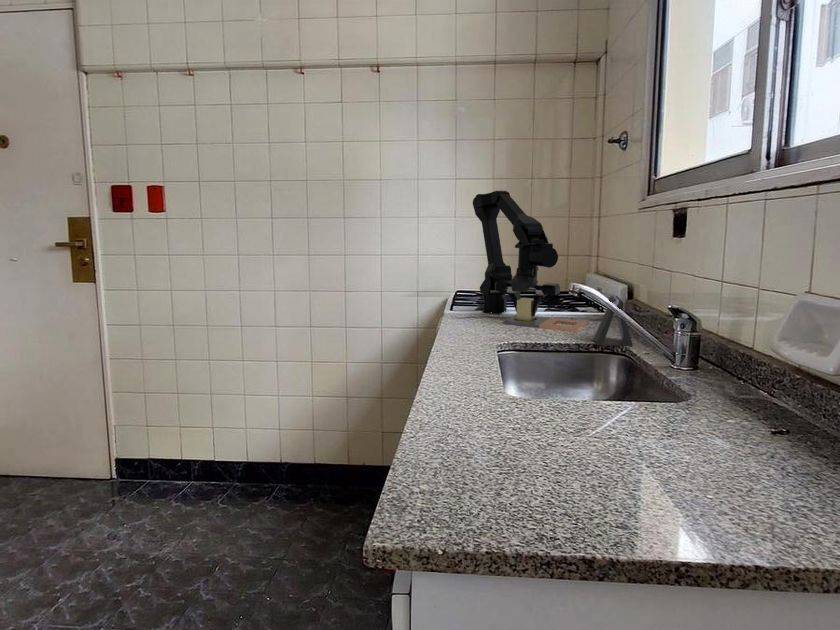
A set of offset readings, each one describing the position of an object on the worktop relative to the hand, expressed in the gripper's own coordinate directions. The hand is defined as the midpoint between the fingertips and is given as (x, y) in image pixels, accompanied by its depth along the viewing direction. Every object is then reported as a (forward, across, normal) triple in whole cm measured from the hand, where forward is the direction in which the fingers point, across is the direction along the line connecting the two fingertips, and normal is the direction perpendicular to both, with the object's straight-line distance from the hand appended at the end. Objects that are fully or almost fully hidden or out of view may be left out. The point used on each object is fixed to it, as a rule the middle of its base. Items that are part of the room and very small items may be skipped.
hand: (525, 315), depth 170 cm
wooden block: (+2, 0, 0) cm, 2 cm away
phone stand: (+2, +28, -14) cm, 31 cm away
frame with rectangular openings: (+2, +6, 0) cm, 6 cm away
